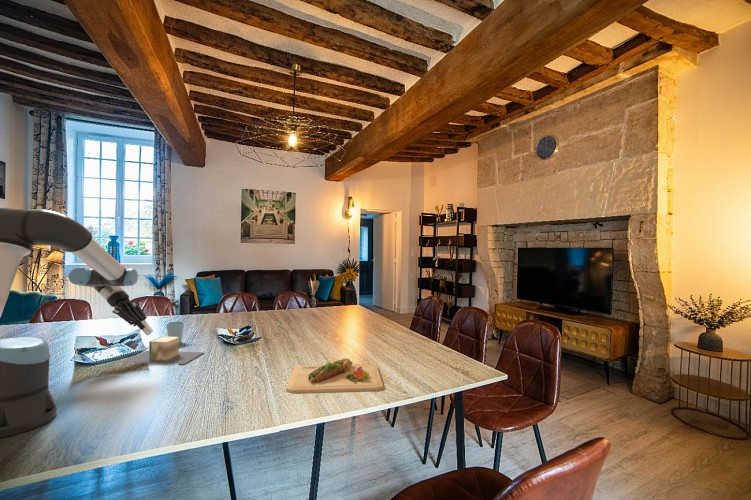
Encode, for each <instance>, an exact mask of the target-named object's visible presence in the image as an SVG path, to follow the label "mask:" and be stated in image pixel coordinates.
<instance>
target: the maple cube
mask: <svg viewBox="0 0 751 500" xmlns="http://www.w3.org/2000/svg"><path fill="white" fill-rule="evenodd" d="M148 346H149V348H148V351H149V360H168V359H170V358H172V357H174V356H176V355H178V354H179V352H180V343H179V337H168V336H164V335H162V336H160V337H158V338H155V339H152V340H149V345H148Z"/></svg>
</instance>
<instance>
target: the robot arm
mask: <svg viewBox="0 0 751 500" xmlns="http://www.w3.org/2000/svg"><path fill="white" fill-rule="evenodd" d="M34 246H50V247H55V248H59V249H60V250H62V251H64V252H66V253H71V254H72V255H74V256H76V258H77V259H79V260H80V261H82V262H83V263H84V264H85V265H87V267H85V266H84V267H83V266H77V267H75V268H73V269H71V270H70V272H69V273H68V277H67V278H68V281H69V282H70V283H71V284H73V285H76V286H78V287H81V286H82V287H89V288H94V290H95V291H96V292H97V293H98V294H100V296H102V298H103V299H104V300H105V301H106V302H107V304H108V305H109V306H110V307H111V308H114V309H113V310H111V311H112V313H113V314H116V315H117V316H118V317H120V318H121V319H122V320H124V321H125V322H126V323H127V324H129V325H130V326H133V327H136V326H137V327H138V329H140V330H141V331H142V332H143V334H145V335H146V336H150V335H151V334H152V333H154V329H153V328H152V327H151V326H150V325H149V323H148V322H147V321H146V319H147V318H148V317H147V315H146V313H145V312H144V311H143V309H142V308H141V306H140V303H139V302H136V303H135V302H133V300H130V295H129V294H128V293H127V291H125V290H124V289H123V288H122V287H132V286H134V285H135V284H137V282H138V280H139V279H138V278H139V273H138V271H137V270H136V269H135V268H126V267H125V266H123V265H122V264H121V263H120V262H119V261H118V260H116V258H114V256H112V255H111V254H110V253H109V252H108V251H107V250H106V249H105V248H103V247H102V246H101V245H100V244H99V243H98V242H97V241H96V240H95V239H93V235H92V233H91V231H90V230H89V229H87V228H86V227H85V226H84V225H82V223H80V222H78V221H77V220H74V219H73V218H71V217H69V216H67V215H66V214H63V213H60V212H56V211H54V210H50V209H49V210H48V209H39V208H38V209H34V208H33V209H31V208H29V209H28V208H11V207H0V318H1V317H2V314H3V311H4V308H5V305H6V303H7V301H8V298H9V295H10V292H11V289H12V286H13V284H14V280H15V277H16V275H17V273H18V270H19V267H20V264H21V261H22V259H23V258H24V257H25V256H26V257H27V256H28V255H30V254H31V253H32V251H33V247H34ZM88 267H90V268H88ZM50 358H51V352H50V345H49V343H48V342H47V341H46V340H45V339H43V338H39V337H30V336H29V337H27V336H22V337H10V338H2V339H0V438H5V437H9V436H14V435H18V434H21V433H25V432H27V431H31V430H33V429H36V428H38V427H40V426H43V425H45V424H47V423H48V422H50V421H52V420H53V419H55V417H56V416H57V404H56V402H55V400H54V398H53V396H52V394H51V392H50V389H49V388H50V387H49V384H50V383H49V380H50V379H49V377H50Z"/></svg>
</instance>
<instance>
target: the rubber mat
mask: <svg viewBox="0 0 751 500" xmlns="http://www.w3.org/2000/svg"><path fill="white" fill-rule="evenodd" d="M204 354H205V352H203V351H179V354H178V355H176V356H174V357H172V358H170V359H168V360H149V349H148V350H144V351H142V352H140V353H137V354H135V355H133V356H130V357H128V358H125V359H123V360H121V361H120V362H122V363H141V364H142V363H143V364H144V363H148V364H149V363H150V364H170V365H171V364H176V365H178V366H185V365H187V364H188V363H191V362H192V361H194V360H195V359H197V358H198V357H200V356H202V355H204Z"/></svg>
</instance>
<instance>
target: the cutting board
mask: <svg viewBox="0 0 751 500" xmlns="http://www.w3.org/2000/svg"><path fill="white" fill-rule="evenodd" d="M374 390H376V391H380V390H384V384H383V381H382V378H381V374H380V371H379V368H378V365H376V364H373V363H364V364H363V363H362V364H360V363H358V364H354V363H353V361H351V359H350V358H342V359H337V360H336V361H332V362H331V361H326V363H325V364H310V365H308V364H307V365H306V364H305V365H297V366H294V367H293V369H292V372H291V374H290V377H289V379H288V383H287V385H286V387H285V391H286V392H287V393H291V394H295V393H296V394H298V393H301V394H302V393H329V392H330V393H334V392H335V393H336V392H337V393H338V392H367V391H374Z"/></svg>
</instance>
